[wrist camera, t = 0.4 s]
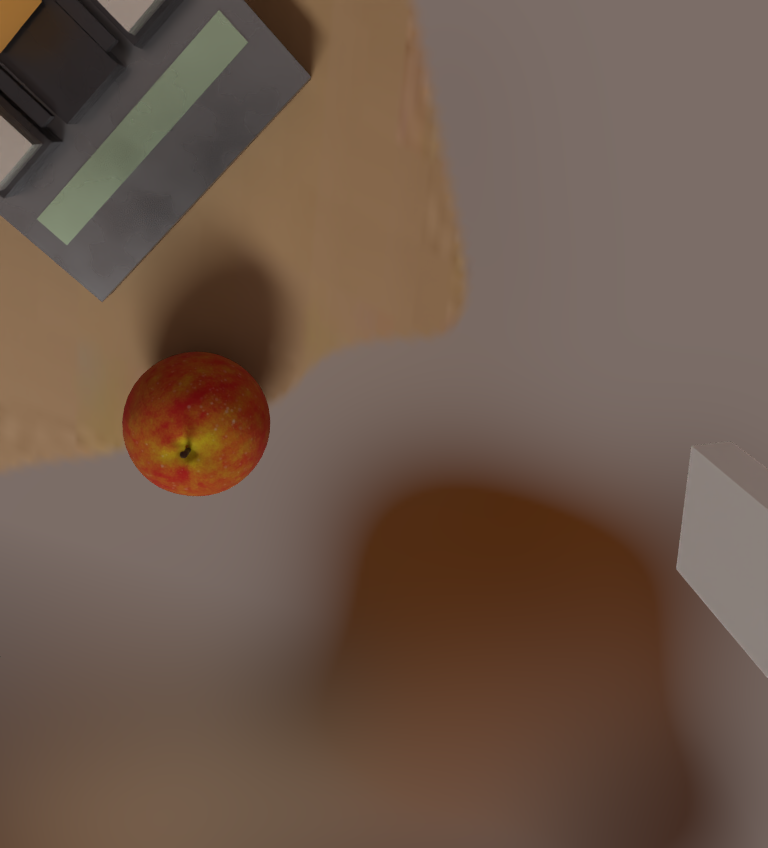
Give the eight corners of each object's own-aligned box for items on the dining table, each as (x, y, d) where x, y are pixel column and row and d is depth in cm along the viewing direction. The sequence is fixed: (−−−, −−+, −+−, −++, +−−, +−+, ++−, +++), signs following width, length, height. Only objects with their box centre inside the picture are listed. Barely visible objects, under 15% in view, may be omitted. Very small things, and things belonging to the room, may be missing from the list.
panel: (-299, -64, 28) (-408, -98, 24) (-91, -376, 25) (-172, -479, 21) (112, 292, 35) (85, 316, 31) (310, 79, 32) (311, 72, 28)
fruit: (265, 463, 40) (256, 540, 32) (137, 448, 38) (97, 525, 31) (280, 345, 37) (274, 399, 30) (143, 325, 36) (102, 377, 29)
